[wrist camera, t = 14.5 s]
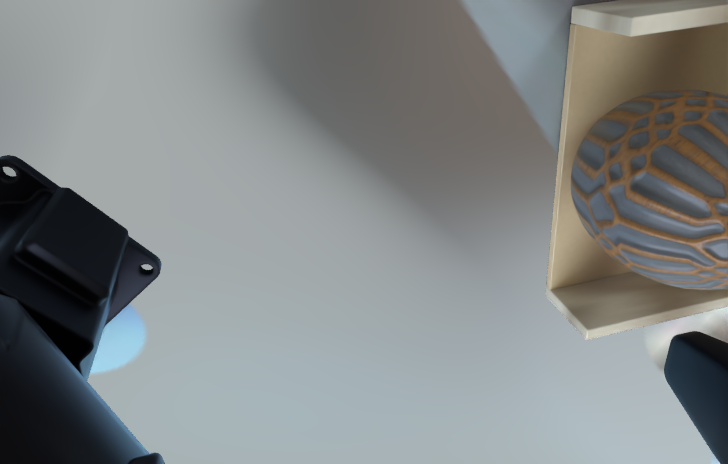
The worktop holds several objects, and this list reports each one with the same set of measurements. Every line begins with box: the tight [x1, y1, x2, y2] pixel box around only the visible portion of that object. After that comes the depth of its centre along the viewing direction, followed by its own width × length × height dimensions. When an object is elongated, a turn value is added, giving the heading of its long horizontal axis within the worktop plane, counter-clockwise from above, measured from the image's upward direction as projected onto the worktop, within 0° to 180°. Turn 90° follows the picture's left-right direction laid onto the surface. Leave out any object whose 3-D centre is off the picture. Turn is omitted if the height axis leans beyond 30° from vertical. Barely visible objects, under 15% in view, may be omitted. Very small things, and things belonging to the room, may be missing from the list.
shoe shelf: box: [546, 0, 728, 340], centre depth 22 cm, size 8×13×5 cm, turn 5°
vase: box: [571, 89, 728, 290], centre depth 19 cm, size 7×7×9 cm
